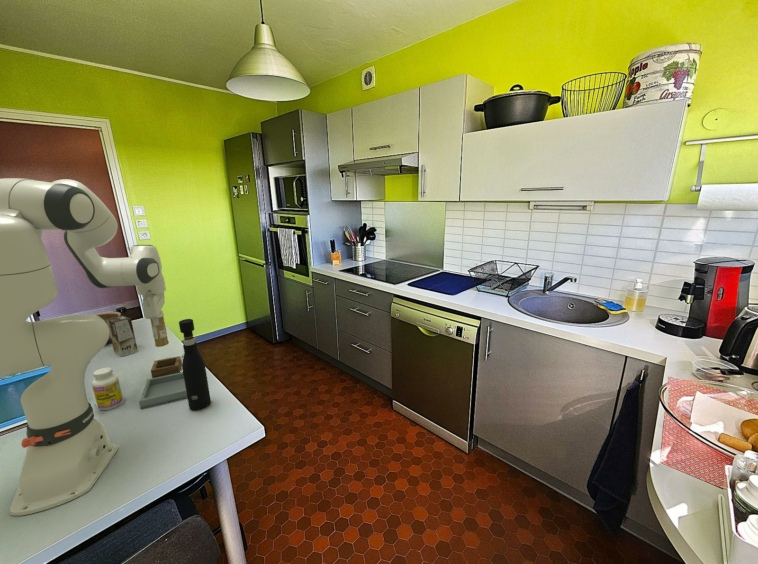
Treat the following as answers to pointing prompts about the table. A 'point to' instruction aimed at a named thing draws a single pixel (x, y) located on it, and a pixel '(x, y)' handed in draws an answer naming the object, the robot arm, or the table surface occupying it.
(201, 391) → the black water bottle
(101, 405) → the supplement bottle
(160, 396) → the slate tray
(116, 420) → the table surface
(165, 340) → the sprinkles bottle
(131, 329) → the coffee box
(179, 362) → the walnut collar
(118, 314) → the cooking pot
